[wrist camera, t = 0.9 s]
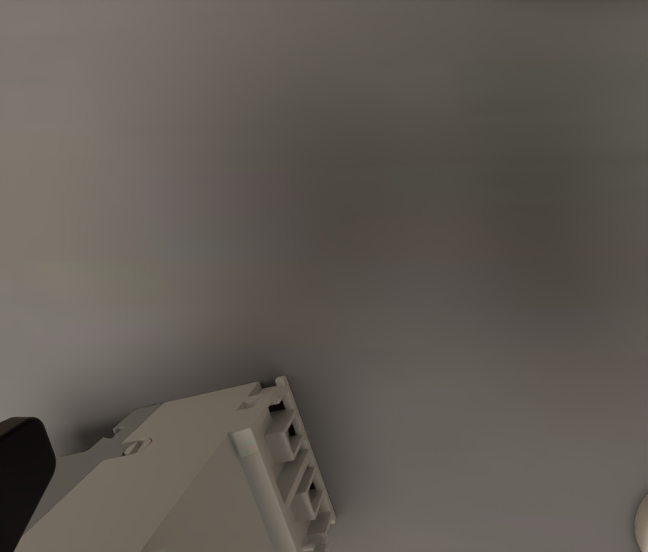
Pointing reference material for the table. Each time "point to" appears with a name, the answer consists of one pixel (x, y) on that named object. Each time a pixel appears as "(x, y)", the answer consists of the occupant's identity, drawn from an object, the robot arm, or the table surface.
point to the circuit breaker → (191, 482)
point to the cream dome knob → (642, 525)
